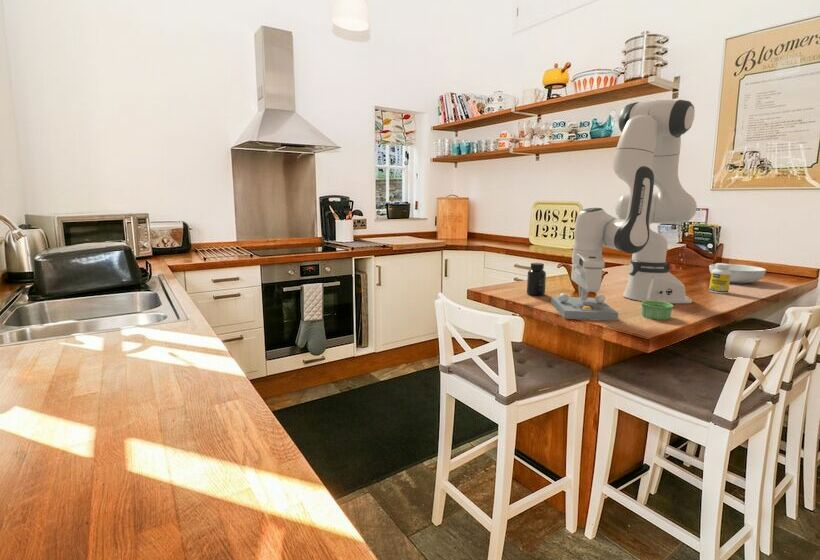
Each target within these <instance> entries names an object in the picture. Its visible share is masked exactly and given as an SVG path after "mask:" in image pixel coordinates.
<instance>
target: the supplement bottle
mask: <svg viewBox="0 0 820 560" xmlns="http://www.w3.org/2000/svg"><path fill="white" fill-rule="evenodd" d="M544 267H545V265H544V263H542V262H531V263H530V267H529V268H530V270H528V272H527V279H526V281H527V282H526V293H527V295H528V294H529V296H533V295H534V296H536V297H541V296H545V294H546V282H547V281H546V279H547V272H546V270H544ZM534 296H533V297H534Z"/></svg>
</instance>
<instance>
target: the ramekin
mask: <svg viewBox="0 0 820 560" xmlns="http://www.w3.org/2000/svg"><path fill="white" fill-rule="evenodd" d="M640 303H641V315H642V317H644V318H646V317H647V318H646V319H650V318H651V319H650V320H655V319H657V320H656V321H667V319H668V320H669V319H670V318H671V317H672V316H671V315H672V310H673V309H674V304H673V303H666V302H661V301H640Z"/></svg>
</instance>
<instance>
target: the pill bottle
mask: <svg viewBox="0 0 820 560" xmlns="http://www.w3.org/2000/svg"><path fill="white" fill-rule="evenodd" d="M715 264H716V265H715V267H716V269H714V270H712V273H710V274H711V275H710V280H709V288H708V292H711V293H713V294H723V295H726V294H728V293H729V289H730V284H731V283H730V278H731V272H730V271H729V270H728V268H729V267H730V264H731V263H724V262H717V263H715Z"/></svg>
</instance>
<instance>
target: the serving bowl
mask: <svg viewBox="0 0 820 560" xmlns="http://www.w3.org/2000/svg"><path fill="white" fill-rule="evenodd" d="M729 264H730V267H729V268H728V270H729V271H730V272H731V278H730V284H731V283H732V284H738V285H739V284H740V285H743V284H750V283H756V282H757V281H758V282H759V280H761V279H763V278H764V276H765V274H766V272H767V269H766V268H763V267H759V266H755V265H746V264H736V263H735V264H734V263H729ZM715 265H716V263H714V264H713V263H712V264H709V267H708V268H709V270H708V271H709V273H710V274H711V273H712V270H714V269H716V267H715Z"/></svg>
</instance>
